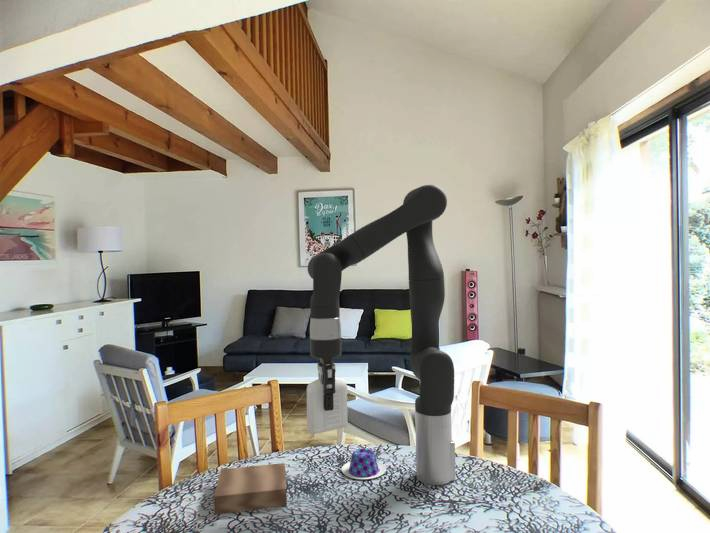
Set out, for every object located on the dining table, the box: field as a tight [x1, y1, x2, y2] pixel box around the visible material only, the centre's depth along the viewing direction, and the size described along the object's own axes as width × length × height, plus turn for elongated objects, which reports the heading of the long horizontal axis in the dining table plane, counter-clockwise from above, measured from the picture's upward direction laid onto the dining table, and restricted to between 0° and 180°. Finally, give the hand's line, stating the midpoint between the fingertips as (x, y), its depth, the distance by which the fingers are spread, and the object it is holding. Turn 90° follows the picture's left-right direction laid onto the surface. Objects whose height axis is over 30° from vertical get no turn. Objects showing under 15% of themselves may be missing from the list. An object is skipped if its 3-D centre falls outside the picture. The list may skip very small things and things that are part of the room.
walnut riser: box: [213, 462, 288, 515], centre depth 108 cm, size 16×14×4 cm
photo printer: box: [306, 376, 349, 435], centre depth 108 cm, size 10×4×12 cm, turn 123°
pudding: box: [341, 448, 387, 480], centre depth 120 cm, size 12×12×5 cm
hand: (327, 405), depth 108 cm, fingers closed on photo printer, 5 cm apart
